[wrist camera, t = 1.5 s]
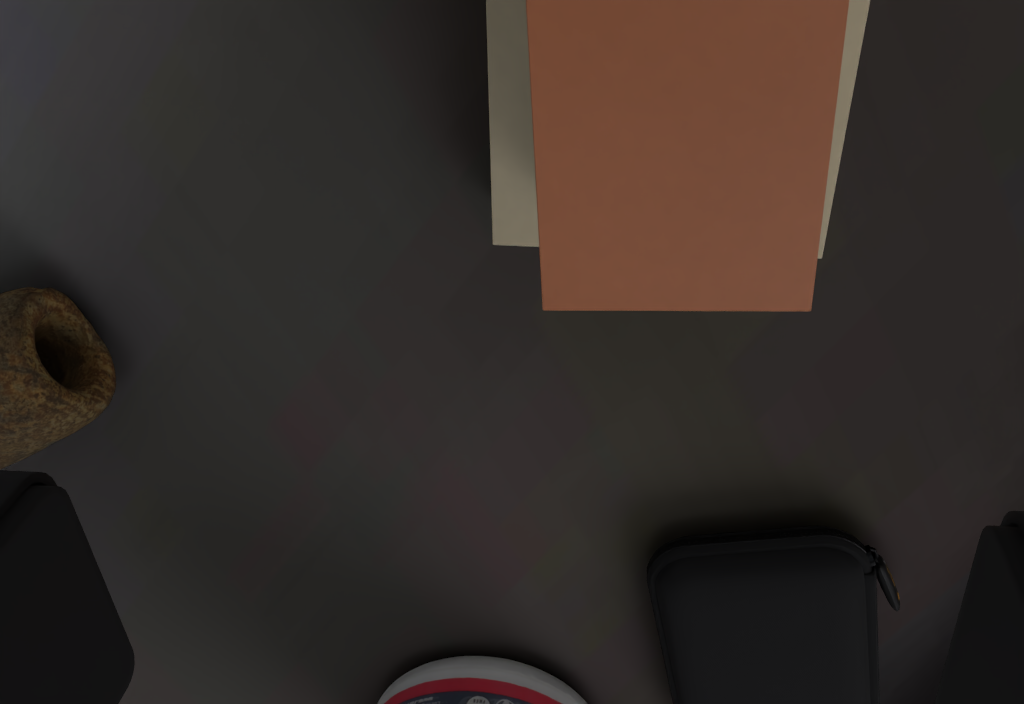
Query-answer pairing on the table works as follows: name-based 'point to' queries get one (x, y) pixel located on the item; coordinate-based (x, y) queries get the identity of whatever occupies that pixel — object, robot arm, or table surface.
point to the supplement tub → (478, 684)
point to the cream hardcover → (515, 127)
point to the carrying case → (770, 616)
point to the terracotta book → (682, 150)
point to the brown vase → (48, 371)
